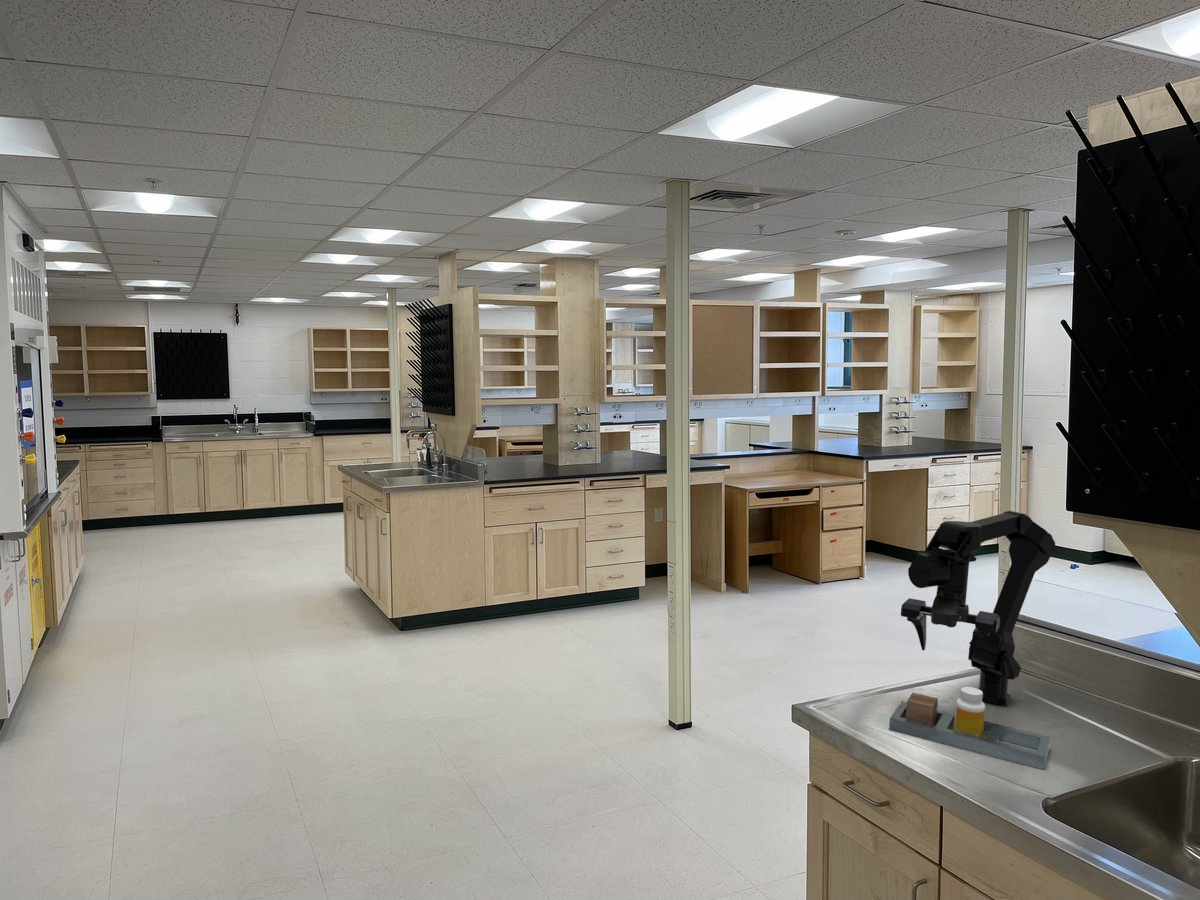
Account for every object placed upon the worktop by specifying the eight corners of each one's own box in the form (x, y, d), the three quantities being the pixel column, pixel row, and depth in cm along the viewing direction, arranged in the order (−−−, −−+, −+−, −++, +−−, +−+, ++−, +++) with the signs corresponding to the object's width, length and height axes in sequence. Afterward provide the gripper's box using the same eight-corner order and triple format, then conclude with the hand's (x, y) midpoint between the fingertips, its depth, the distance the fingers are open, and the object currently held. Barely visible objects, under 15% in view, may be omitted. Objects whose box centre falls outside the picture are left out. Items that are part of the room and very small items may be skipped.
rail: (900, 712, 182) (901, 701, 182) (1049, 749, 167) (1050, 736, 167) (889, 729, 174) (890, 717, 173) (1044, 769, 159) (1045, 756, 158)
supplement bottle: (985, 745, 167) (989, 697, 166) (956, 742, 168) (960, 694, 167) (979, 733, 173) (983, 686, 171) (950, 730, 174) (954, 683, 172)
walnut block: (910, 720, 179) (912, 692, 178) (935, 726, 176) (938, 698, 175) (904, 728, 174) (907, 700, 174) (930, 735, 172) (933, 706, 171)
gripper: (897, 583, 178) (891, 656, 180) (995, 600, 168) (988, 676, 170) (909, 572, 187) (904, 641, 189) (1003, 587, 177) (996, 660, 179)
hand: (946, 654), depth 182 cm, fingers open, 9 cm apart
